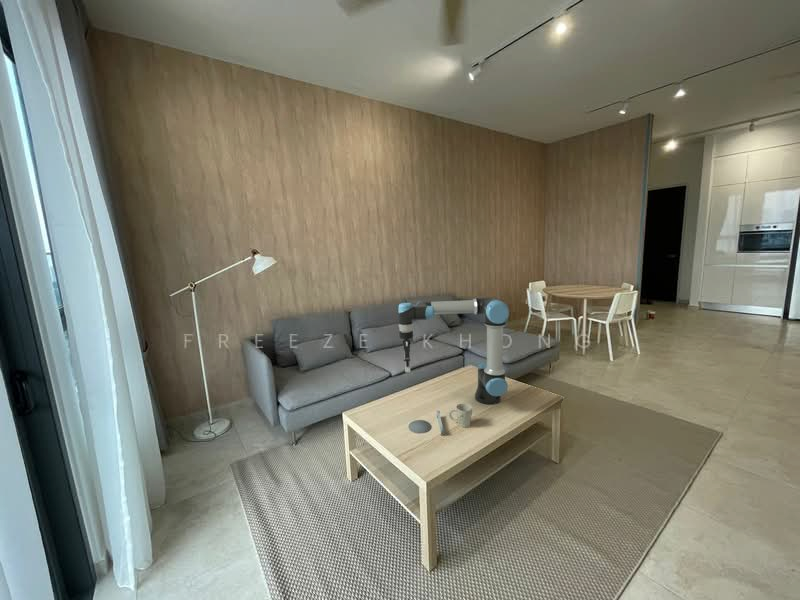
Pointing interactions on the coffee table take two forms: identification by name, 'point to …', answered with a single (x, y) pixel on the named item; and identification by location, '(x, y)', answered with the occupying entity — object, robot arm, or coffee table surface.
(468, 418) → the mug
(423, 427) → the coaster
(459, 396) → the coffee table surface
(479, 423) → the coffee table surface
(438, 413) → the fence
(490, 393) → the robot arm
